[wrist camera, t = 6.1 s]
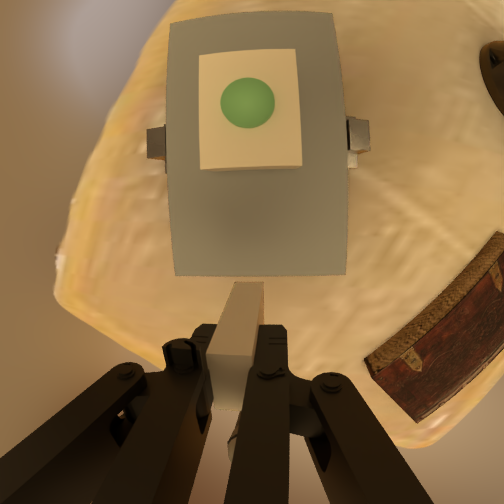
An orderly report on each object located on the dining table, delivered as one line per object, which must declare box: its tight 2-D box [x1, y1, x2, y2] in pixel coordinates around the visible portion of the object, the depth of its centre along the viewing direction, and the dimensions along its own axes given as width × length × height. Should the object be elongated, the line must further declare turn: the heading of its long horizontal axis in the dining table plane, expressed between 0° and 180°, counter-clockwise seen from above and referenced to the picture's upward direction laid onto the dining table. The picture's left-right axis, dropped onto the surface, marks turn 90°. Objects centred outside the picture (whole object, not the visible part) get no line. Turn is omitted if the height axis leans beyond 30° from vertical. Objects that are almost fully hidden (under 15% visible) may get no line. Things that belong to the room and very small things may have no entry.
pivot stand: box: [147, 116, 370, 174], centre depth 28 cm, size 16×22×7 cm
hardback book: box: [364, 231, 504, 423], centre depth 33 cm, size 29×19×5 cm, turn 134°
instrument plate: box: [166, 11, 348, 276], centre depth 21 cm, size 26×16×8 cm, turn 2°
